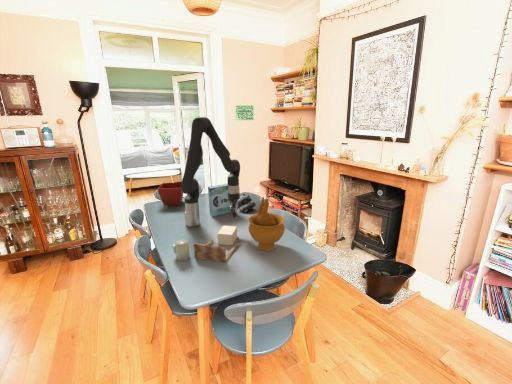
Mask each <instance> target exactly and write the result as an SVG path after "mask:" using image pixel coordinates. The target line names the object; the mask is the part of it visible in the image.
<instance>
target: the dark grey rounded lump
mask: <svg viewBox="0 0 512 384" xmlns="http://www.w3.org/2000/svg"><path fill="white" fill-rule="evenodd" d="M238 201H240V202H239V207H238V210H239V212H240V213H242V214H243V213H246V212H248V211H250V210H251V209H254V208H255V207H256V205H257V204H256V202H255V201H253V200H252V197H250V195H249V194H247V195H246V194H245V193H243V194H242V195H240V199H238Z"/></svg>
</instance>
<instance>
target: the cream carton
mask: <svg viewBox="0 0 512 384" xmlns="http://www.w3.org/2000/svg"><path fill="white" fill-rule="evenodd" d="M216 235H217V244H218V245H225V246H234V243H235V241H236V240H237V238H238V226H233V225H223V226H221V228H220V229H219V231H218V232H217V234H216Z"/></svg>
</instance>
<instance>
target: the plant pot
mask: <svg viewBox="0 0 512 384" xmlns="http://www.w3.org/2000/svg"><path fill="white" fill-rule="evenodd" d="M181 182H182V181H181ZM181 182H163V183H161V184H160V185H159V186H158V187H157V193H158V195H159V198H160V200H161V202H162V204H163V206H164V207H173V206H175V207H177V206H181V204H182V201H183V198H184V197H183V196H184V193H183V192H182V190H181Z"/></svg>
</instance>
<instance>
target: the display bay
mask: <svg viewBox="0 0 512 384" xmlns="http://www.w3.org/2000/svg"><path fill="white" fill-rule="evenodd" d="M213 243H214V240H213V239H210V240H209V241H208V242H207V243H206V244H204V243H200V242H198V243H197V242H195V243H193V250H194V258H198V259H203V260H207V261H215V262H220V263H226V262H227V261H228V259H229V258H230V257H231V256H232V254H233V253H234V252H235V251H236V250H237V248H238V247H239V244H238V243H235V244H233V246H232V248H231V249H230V250H229V251H228V252H227V254H226V247H223V246H216V245H212V244H213Z"/></svg>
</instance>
